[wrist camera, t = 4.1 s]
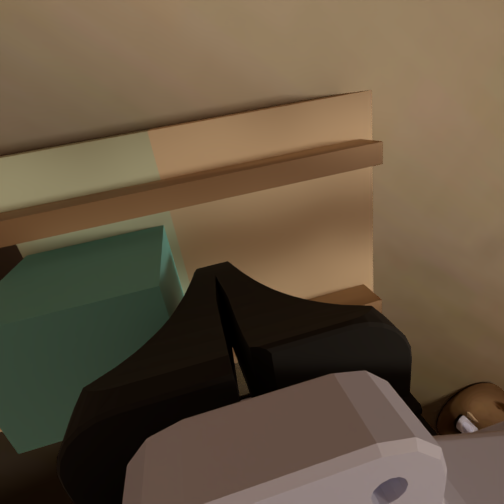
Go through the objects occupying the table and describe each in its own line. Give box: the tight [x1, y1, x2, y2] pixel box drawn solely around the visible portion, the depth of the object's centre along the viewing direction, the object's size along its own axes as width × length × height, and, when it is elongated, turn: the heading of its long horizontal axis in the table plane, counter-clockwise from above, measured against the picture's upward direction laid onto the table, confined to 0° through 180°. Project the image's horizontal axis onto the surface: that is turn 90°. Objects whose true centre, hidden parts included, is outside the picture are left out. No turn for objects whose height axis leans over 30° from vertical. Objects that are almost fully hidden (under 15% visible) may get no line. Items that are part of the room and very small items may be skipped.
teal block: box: [0, 225, 184, 454], centre depth 11 cm, size 4×5×5 cm
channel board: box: [0, 90, 383, 432], centre depth 14 cm, size 11×19×4 cm, turn 99°
